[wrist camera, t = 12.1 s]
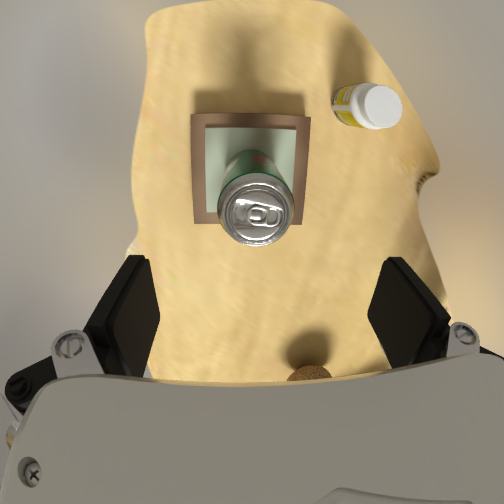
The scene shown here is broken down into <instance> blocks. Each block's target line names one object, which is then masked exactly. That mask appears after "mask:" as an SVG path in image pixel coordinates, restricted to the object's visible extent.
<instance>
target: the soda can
mask: <svg viewBox="0 0 504 504" xmlns="http://www.w3.org/2000/svg"><path fill="white" fill-rule="evenodd" d="M294 212H295V203H294V198H293V195H292V193H291V191H290V189H289V187H288V185H287V184H286V182H285V180H284V179H283V177H282V175H281V174H280V172H279V170H278V169H277V167H276V166H275V164H274V162H273V161H272V159H271V158H270V157H269V156H268V155H267V154H265V153H264V152H262V151H259V150H255V149H247V150H243V151H240V152H238V153H237V154H235V155H234V156H233V157H232V158H231V159H230V160H229V162H228V164H227V167H226V170H225V174H224V178H223V182H222V186H221V190H220V194H219V198H218V203H217V214H218V219H219V221H220V224H221V225H222V227H223V229H224V230H225V231H226V232H227V233H228V234H229V235H230V236H231V237H232V238H233V239H235V240H236V241H238V242H239V243H242V244H244V245H248V246H254V247H256V246H265V245H268V244H271V243H273V242H275V241H277V240H278V239H279V238H280V237H282V236H283V235H284V233H285V232H286V231H287V229H288V227H289V226H290V224H291V222H292V220H293V217H294Z"/></svg>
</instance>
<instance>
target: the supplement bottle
mask: <svg viewBox="0 0 504 504" xmlns="http://www.w3.org/2000/svg"><path fill="white" fill-rule="evenodd" d="M331 105H332V110H333V113H334V115H335V116H336V118H337V119H338V120H339V121H340V122H342V123H344V124H346V125H349V126H355V127H361V128H366V129H371V130H376V129H381V128H388V127H392V126H394V125H395V124H396V123H397V122H398V121H399V120H400V118H401V115H402V103H401V100H400V98H399V96H398V95H397V93H396V92H395V91H394V90H393V89H391V88H389V87H387V86H384V85H377V84H374V83H362V84H356V85H351V86H346V87H343V88H340V89H339V90H337V91H336V92H335V94H334V95H333V98H332V102H331Z"/></svg>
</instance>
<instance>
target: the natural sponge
mask: <svg viewBox="0 0 504 504" xmlns="http://www.w3.org/2000/svg"><path fill="white" fill-rule="evenodd" d="M324 378H332V376H331V374H330V373H329V372H328V371H327V370H326V369H325V368H323V367H321V366H314V365H307V366H303V367H300V368H299V369H297V370H296V371H295V372H294V373H292V374H291V375H290V376H289V378H288V379H287V381H301V380H313V379H324Z"/></svg>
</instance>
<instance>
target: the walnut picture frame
mask: <svg viewBox="0 0 504 504" xmlns="http://www.w3.org/2000/svg"><path fill="white" fill-rule="evenodd" d="M310 123H311V117H304V116H292V115H278V114H255V113H210V114H191V166H192V192H193V211H194V224H220V221H219V219H218V214H217V203H218V198H219V194H220V190H221V186H222V182H223V178H224V174H225V170H226V167H227V164H228V162H229V160H230V159H231V158H232V157H233V156H234V155H235V154H237V153H238V152H240V151H243V150H247V149H255V150H259V151H262V152H264V153H265V154H267V155H268V156H269V157H270V158H271V159H272V161H273V162H274V164H275V166H276V167H277V169H278V170H279V172H280V174H281V175H282V177H283V179H284V180H285V182H286V184H287V185H288V187H289V189H290V191H291V193H292V195H293V198H294V203H295V212H294V217H293V220H292V222H291V224H290V225H302V218H303V209H304V199H305V188H306V177H307V165H308V152H309V138H310Z"/></svg>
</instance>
